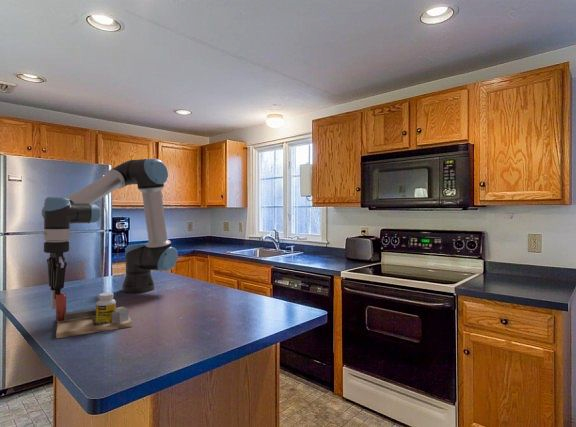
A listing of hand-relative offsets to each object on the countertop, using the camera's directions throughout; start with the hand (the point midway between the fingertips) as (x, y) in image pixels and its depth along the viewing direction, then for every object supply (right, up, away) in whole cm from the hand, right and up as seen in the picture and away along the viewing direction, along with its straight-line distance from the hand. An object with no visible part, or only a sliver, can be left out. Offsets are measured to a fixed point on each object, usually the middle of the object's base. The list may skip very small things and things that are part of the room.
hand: (56, 307), depth 125 cm
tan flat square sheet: (+12, -6, +2) cm, 14 cm away
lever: (+9, -4, +1) cm, 10 cm away
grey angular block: (+23, -6, -1) cm, 24 cm away
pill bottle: (+18, -6, -1) cm, 19 cm away
